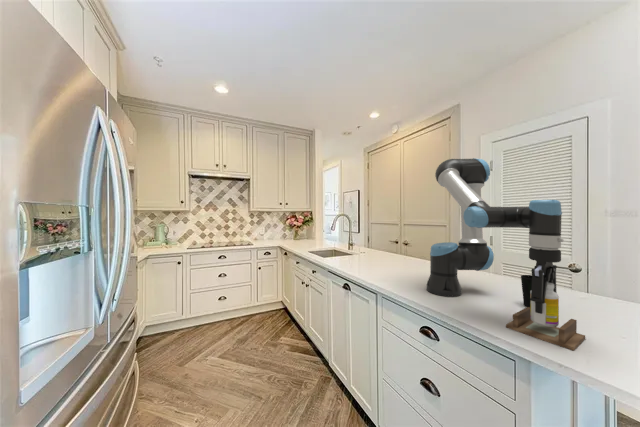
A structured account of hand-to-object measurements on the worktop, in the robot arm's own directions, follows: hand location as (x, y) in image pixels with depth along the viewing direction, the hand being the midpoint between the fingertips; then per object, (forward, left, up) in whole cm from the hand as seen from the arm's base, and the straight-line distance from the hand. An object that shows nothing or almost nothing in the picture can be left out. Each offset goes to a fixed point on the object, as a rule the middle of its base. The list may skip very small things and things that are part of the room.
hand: (544, 320), depth 77 cm
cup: (-10, +24, -4) cm, 26 cm away
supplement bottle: (0, 0, -1) cm, 1 cm away
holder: (0, 0, -4) cm, 4 cm away
